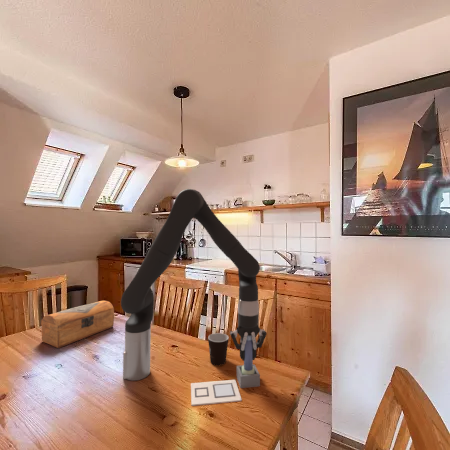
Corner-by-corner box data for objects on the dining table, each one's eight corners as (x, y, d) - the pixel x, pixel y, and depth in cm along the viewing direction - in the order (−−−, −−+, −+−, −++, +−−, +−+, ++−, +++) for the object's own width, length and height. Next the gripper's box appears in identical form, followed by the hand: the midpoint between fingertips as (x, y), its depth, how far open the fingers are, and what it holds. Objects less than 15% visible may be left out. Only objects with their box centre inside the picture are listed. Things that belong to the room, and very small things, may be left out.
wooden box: (58, 349, 115) (58, 318, 116) (40, 341, 124) (40, 312, 124) (116, 327, 141) (116, 302, 141) (97, 321, 150) (98, 298, 150)
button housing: (240, 388, 88) (240, 376, 88) (236, 376, 95) (236, 365, 95) (259, 386, 89) (259, 375, 89) (254, 375, 96) (254, 364, 96)
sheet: (191, 405, 79) (191, 404, 79) (190, 384, 90) (190, 382, 90) (241, 401, 82) (241, 399, 82) (235, 380, 93) (235, 379, 93)
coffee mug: (226, 368, 101) (226, 342, 101) (205, 365, 102) (205, 340, 103) (231, 354, 112) (231, 331, 112) (212, 352, 114) (212, 329, 114)
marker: (244, 371, 90) (244, 336, 91) (242, 366, 93) (242, 332, 94) (254, 370, 90) (253, 335, 91) (251, 365, 94) (251, 332, 94)
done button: (243, 384, 90) (243, 371, 90) (240, 376, 94) (240, 364, 94) (255, 383, 90) (255, 370, 90) (252, 375, 95) (252, 363, 95)
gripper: (231, 315, 88) (230, 366, 88) (270, 314, 90) (270, 363, 90) (227, 309, 95) (227, 355, 95) (263, 307, 97) (263, 352, 97)
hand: (248, 358), depth 92 cm, fingers closed on marker, 3 cm apart
